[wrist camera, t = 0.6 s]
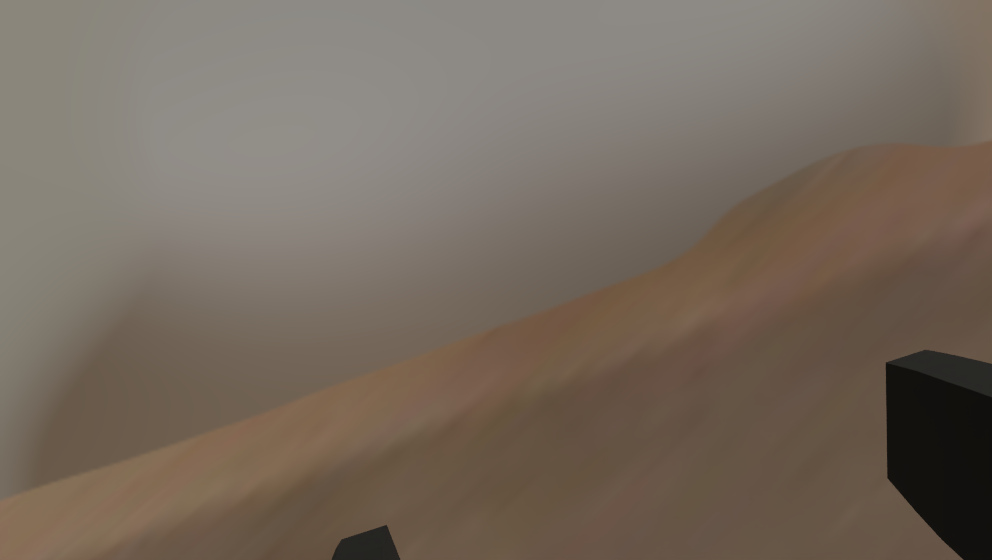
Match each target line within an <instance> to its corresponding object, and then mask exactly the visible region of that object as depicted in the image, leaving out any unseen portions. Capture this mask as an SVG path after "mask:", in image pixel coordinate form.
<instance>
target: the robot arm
mask: <svg viewBox="0 0 992 560" xmlns="http://www.w3.org/2000/svg"><path fill="white" fill-rule="evenodd" d="M886 406H887V474H888V479H889V480H890V482H891V483H892V484H893V485H894V486H895V487H896V489H897V490H898V491H899V492H900V493H901V494H902V496H903V497H904V498H905V499H906V500H907V501H908V503H909V504H910V505H911V506H912V507H913V508H914V510H915V511H916V512H917V513H918V514H919V515H920V516H921V517H922V518H923V520H924V521H925V522H926V523H927V524H928V525H929V526H930V527H931V528H932V529H933V530H934V532H935V533H936V534H937V535H938V536H939V537H940V538H941V539H942V540H943V541H944V542H945V543H946V544H947V545H948V546H949V547H950V548H952V549H953V550H954V551H955V552H956V553H957V554H958V555H959V556H960V557H961V558H962V559H964V560H992V364H990V363H985V362H981V361H977V360H973V359H968V358H964V357H960V356H955V355H950V354H945V353H940V352H935V351H929V350H923V351H920V352H917V353H914V354H911V355H908V356H905V357H902V358H899V359H896V360H893V361H890V362H886ZM332 560H400V558H399V555H398V553H397V550H396V548H395V545H394V543H393V540H392V537H391V535H390V532H389V530H388V527H387V525H385V526H382V527H379V528H376V529H373V530H370V531H367V532H364V533H360V534H357V535H354V536H351V537H348V538H345V539H342V540H341V541H340V543H339V545H338V546H337V548H336V550H335V553H334V555H333V558H332Z"/></svg>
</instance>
